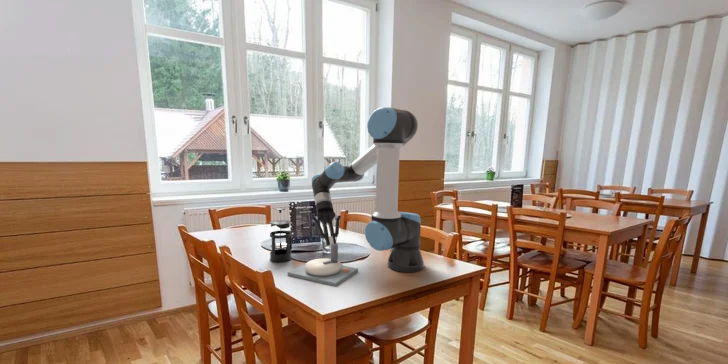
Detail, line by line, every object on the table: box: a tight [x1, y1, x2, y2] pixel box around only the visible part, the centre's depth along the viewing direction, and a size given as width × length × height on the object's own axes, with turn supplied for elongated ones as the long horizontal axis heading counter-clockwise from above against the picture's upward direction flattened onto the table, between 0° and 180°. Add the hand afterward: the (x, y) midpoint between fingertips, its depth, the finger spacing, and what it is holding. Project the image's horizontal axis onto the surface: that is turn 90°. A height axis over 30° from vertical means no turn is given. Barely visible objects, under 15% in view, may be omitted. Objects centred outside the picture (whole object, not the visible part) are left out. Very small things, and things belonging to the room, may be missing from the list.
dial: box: [306, 243, 341, 276], centre depth 130 cm, size 14×14×9 cm
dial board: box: [287, 262, 359, 287], centre depth 131 cm, size 22×18×2 cm
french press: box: [269, 207, 293, 264], centre depth 146 cm, size 12×9×23 cm
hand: (332, 251), depth 135 cm, fingers closed
